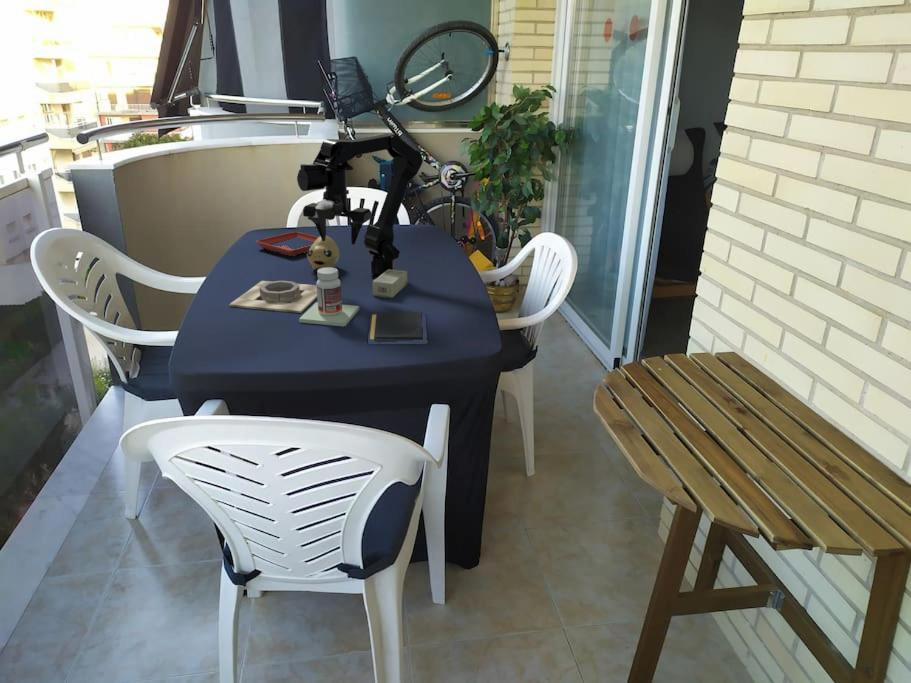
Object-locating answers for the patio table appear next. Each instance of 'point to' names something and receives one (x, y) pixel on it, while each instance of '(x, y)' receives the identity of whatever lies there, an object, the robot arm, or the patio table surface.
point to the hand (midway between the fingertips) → (338, 242)
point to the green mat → (336, 320)
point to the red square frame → (269, 242)
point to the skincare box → (389, 283)
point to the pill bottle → (329, 292)
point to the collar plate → (278, 296)
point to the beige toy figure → (323, 253)
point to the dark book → (395, 326)
